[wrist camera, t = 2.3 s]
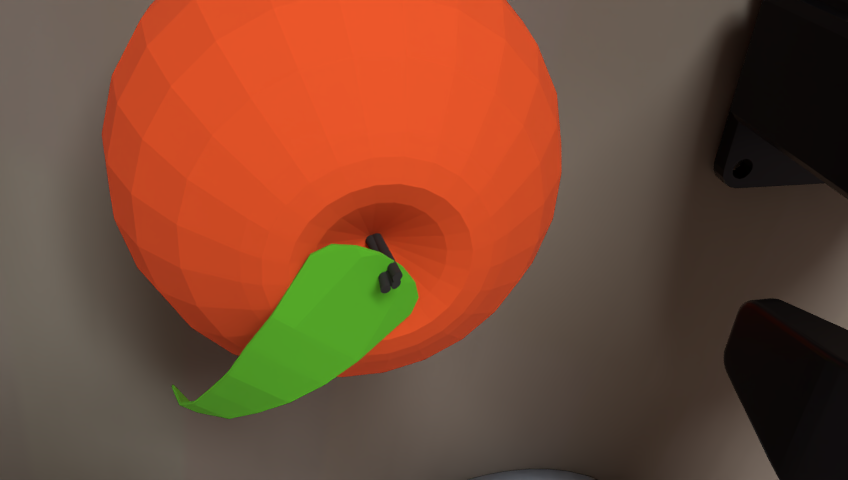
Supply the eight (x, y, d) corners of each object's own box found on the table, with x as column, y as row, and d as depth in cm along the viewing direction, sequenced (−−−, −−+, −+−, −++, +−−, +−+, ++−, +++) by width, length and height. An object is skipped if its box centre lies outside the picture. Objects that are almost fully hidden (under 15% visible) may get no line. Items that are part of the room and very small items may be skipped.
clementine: (307, 314, 19) (367, 584, 13) (9, 156, 15) (-96, 433, 9) (548, 41, 16) (753, 215, 11) (270, -219, 13) (350, -168, 7)
